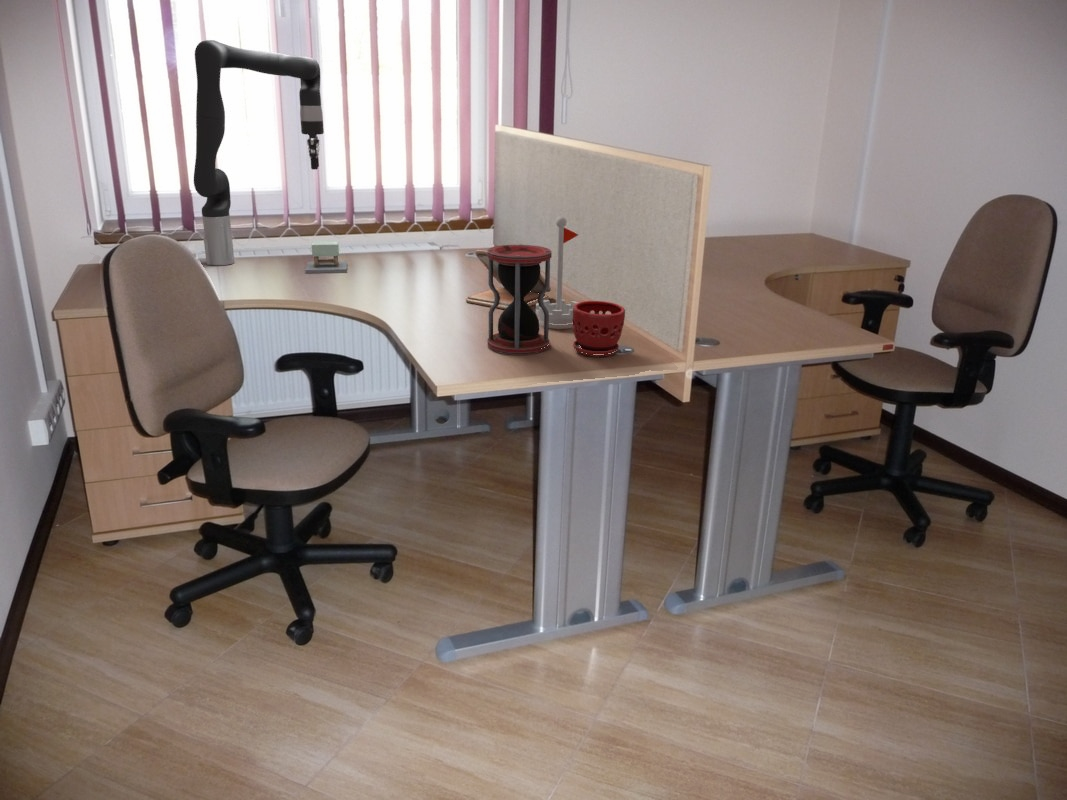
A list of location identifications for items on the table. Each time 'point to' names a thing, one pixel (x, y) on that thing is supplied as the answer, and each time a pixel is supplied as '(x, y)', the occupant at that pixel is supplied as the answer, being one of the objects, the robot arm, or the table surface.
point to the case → (505, 296)
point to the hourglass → (519, 299)
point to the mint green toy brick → (325, 252)
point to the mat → (327, 268)
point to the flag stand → (559, 286)
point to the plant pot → (597, 327)
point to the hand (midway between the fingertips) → (315, 168)
